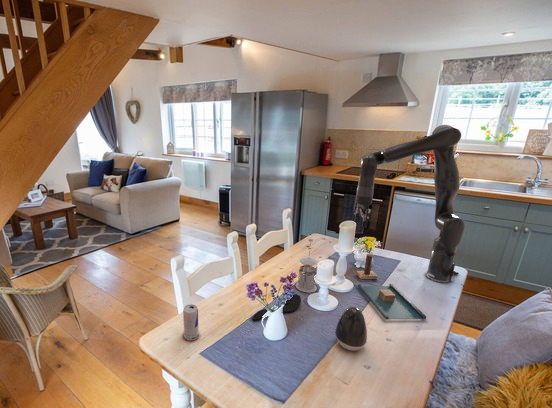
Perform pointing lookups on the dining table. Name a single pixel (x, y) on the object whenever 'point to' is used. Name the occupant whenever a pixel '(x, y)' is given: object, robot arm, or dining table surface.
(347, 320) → the black egg shaped diffuser
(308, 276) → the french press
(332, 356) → the dining table surface
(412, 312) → the tray
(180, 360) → the dining table surface
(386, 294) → the cork chunk
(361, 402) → the dining table surface
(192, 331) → the energy drink
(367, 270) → the wooden dowel stand
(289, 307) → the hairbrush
